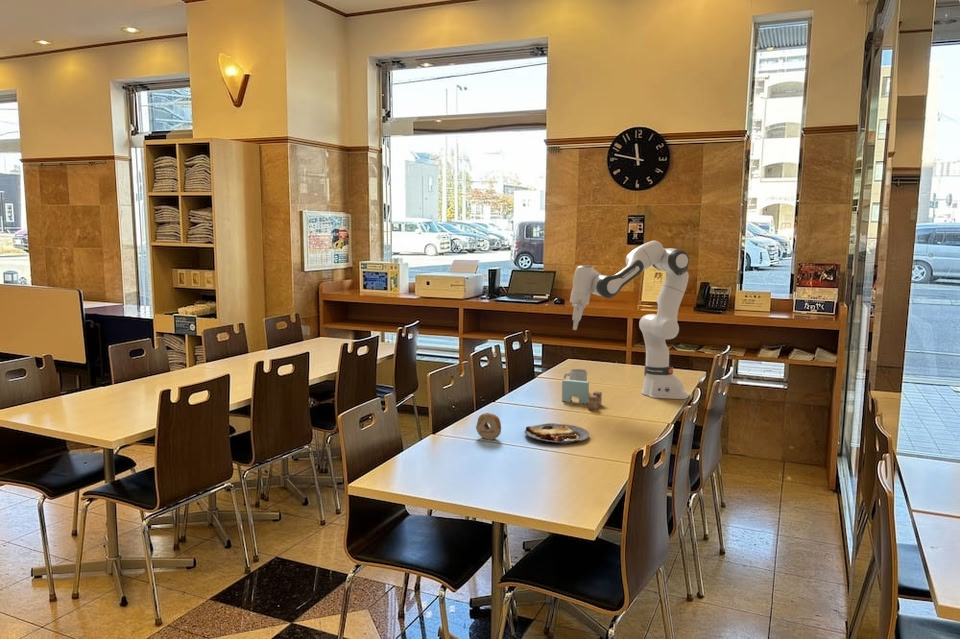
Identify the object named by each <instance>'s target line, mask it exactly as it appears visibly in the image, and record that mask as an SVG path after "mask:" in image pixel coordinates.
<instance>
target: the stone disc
mask: <svg viewBox="0 0 960 639" xmlns="http://www.w3.org/2000/svg"><path fill="white" fill-rule="evenodd" d="M501 424H502V422H501V420H500V417H498V416H497V415H496V414H494V413H489V412H487V413H486V412H485V413H482V414H480V415H479V416H478V418H477V422H476V425H475V429H476V432H477V434H478V435H479V436H480V437H481V438H483V439H485V440H489V439H490V440H492V441H493V440H495V439H497V438H498V437H499V436H500V435H501V433H502V425H501Z"/></svg>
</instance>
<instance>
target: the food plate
mask: <svg viewBox="0 0 960 639" xmlns="http://www.w3.org/2000/svg"><path fill="white" fill-rule="evenodd" d="M524 433H525V434H524V435H526V436H527V437H529V438H530V439H531V438H532V439H534V440H537V441H542V442H546V443H549V442H551V443H556V444H561V445H562V444H565V445H566V444H569V443H573V442H578V441H584V440H587V439H588V438H589V436H590V432H589V431H588V430H587V429H584V428H583V427H580V426H577V425H574V424H566V423H564V424H563V423H551V422H550V423H542V424H538V425H537V424H536V425H531V426H530V425H528V426H526V427H525V430H524ZM575 434H576V435H575ZM578 436H579V437H578ZM567 438H569V440H567V441H565V439H567ZM573 439H574V440H573Z"/></svg>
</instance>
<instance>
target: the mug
mask: <svg viewBox="0 0 960 639" xmlns="http://www.w3.org/2000/svg"><path fill="white" fill-rule="evenodd" d="M567 376H569V380H577V381H588V371H587V370H586V369H583V368H581V369H580V368H576V369H575V368H573V369H570V370H569V372H566V373H564V375H563V380H564V379H566V380H567Z"/></svg>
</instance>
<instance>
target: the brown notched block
mask: <svg viewBox="0 0 960 639" xmlns="http://www.w3.org/2000/svg"><path fill="white" fill-rule="evenodd" d="M587 404H588V405H587V409H588V411H594V410H595V411H596V410H597V409H598V408H599V407H601V406H602V391H597V390H595V391H594V392H593V393H592V394H589V397H588V403H587Z"/></svg>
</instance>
